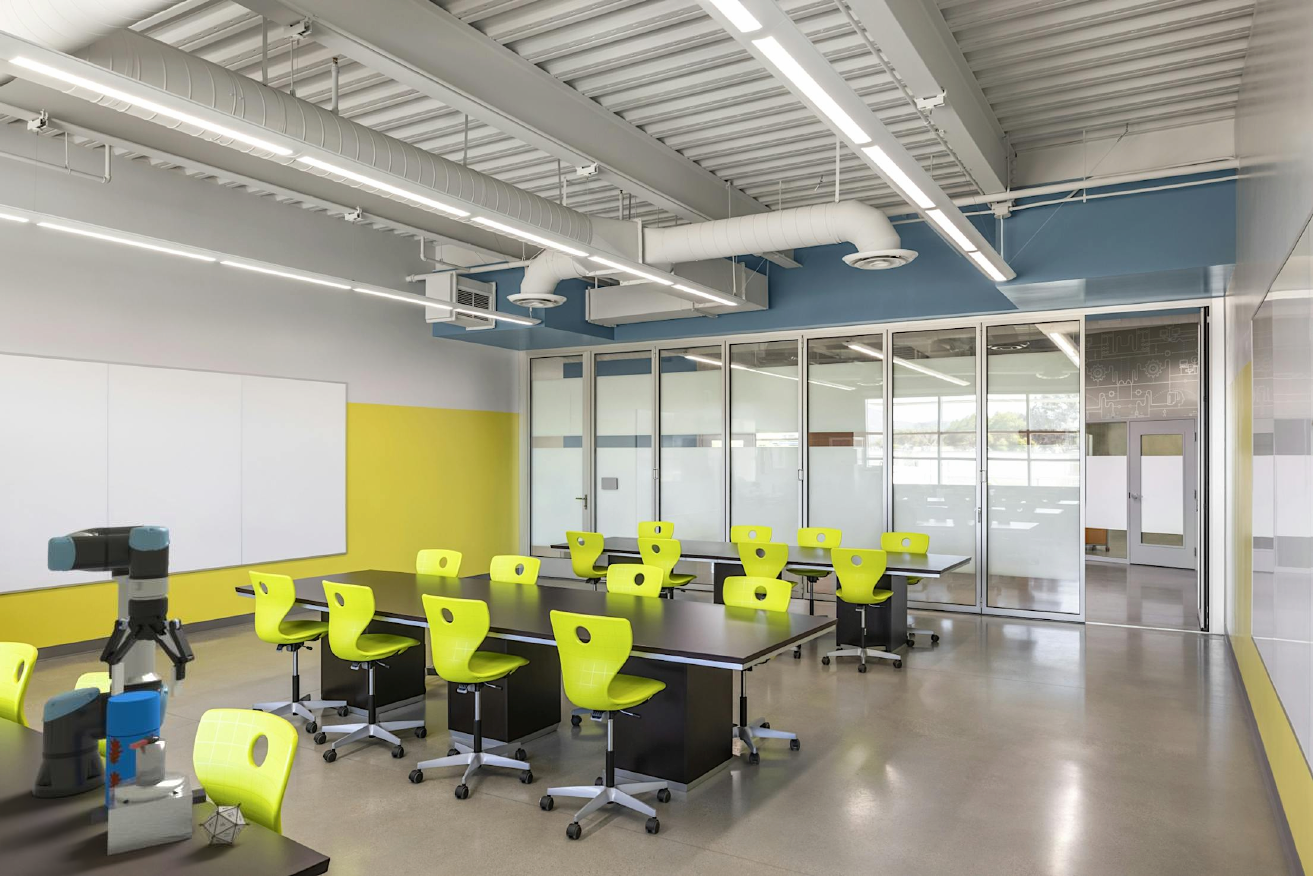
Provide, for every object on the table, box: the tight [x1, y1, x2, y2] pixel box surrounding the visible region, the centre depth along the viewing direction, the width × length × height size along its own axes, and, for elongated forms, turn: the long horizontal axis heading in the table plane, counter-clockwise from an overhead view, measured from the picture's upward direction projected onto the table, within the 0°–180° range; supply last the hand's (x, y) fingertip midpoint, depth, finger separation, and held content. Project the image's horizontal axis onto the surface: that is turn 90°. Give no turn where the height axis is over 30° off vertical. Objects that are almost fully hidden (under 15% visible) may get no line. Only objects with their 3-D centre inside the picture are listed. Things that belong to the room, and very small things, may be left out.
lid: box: [114, 735, 186, 803], centre depth 180 cm, size 13×13×14 cm
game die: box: [198, 802, 251, 848], centre depth 174 cm, size 9×8×10 cm
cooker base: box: [90, 774, 207, 856], centre depth 180 cm, size 15×21×9 cm
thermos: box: [104, 691, 161, 806], centre depth 198 cm, size 11×11×25 cm
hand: (146, 694), depth 183 cm, fingers open, 13 cm apart
